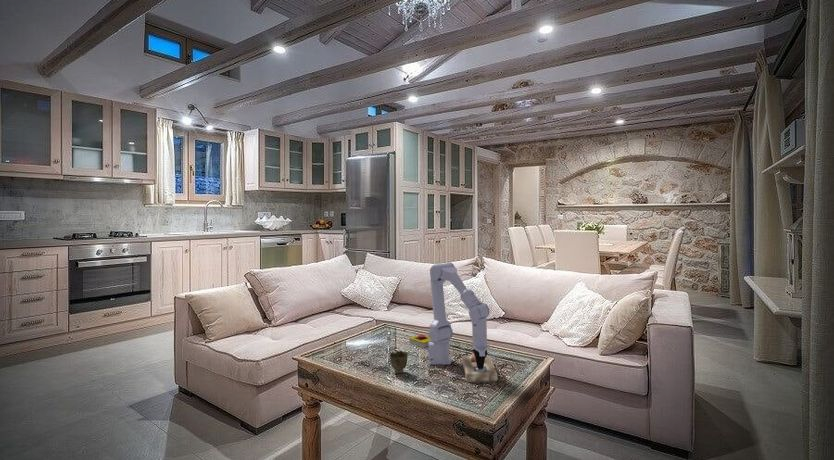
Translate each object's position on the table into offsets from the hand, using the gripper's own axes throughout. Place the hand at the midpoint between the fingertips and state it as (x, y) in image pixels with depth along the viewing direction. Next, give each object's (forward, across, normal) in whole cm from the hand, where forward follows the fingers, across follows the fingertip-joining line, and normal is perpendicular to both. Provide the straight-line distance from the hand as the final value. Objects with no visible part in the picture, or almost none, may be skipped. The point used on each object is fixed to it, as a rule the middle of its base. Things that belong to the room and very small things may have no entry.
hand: (480, 368), depth 159 cm
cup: (+4, +5, +33) cm, 34 cm away
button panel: (+3, +5, 0) cm, 6 cm away
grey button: (+3, 0, 0) cm, 3 cm away
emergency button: (+4, +42, +24) cm, 49 cm away
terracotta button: (+1, +10, 0) cm, 10 cm away
